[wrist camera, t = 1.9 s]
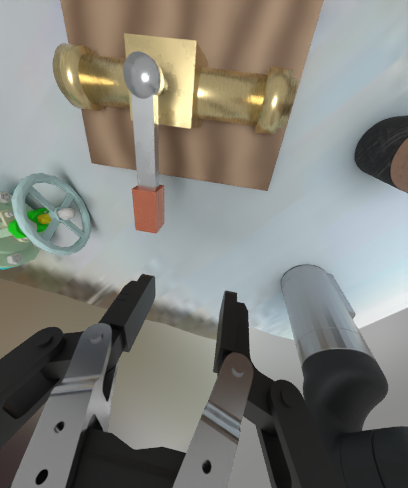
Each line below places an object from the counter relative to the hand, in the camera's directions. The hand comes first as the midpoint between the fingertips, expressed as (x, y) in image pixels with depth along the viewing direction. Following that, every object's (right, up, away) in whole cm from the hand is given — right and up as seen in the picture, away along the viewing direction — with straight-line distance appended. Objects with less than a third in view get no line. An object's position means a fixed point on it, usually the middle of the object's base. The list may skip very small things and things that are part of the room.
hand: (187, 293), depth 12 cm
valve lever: (-5, +13, +9) cm, 16 cm away
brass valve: (-2, +24, +15) cm, 29 cm away
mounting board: (-2, +24, +15) cm, 29 cm away
